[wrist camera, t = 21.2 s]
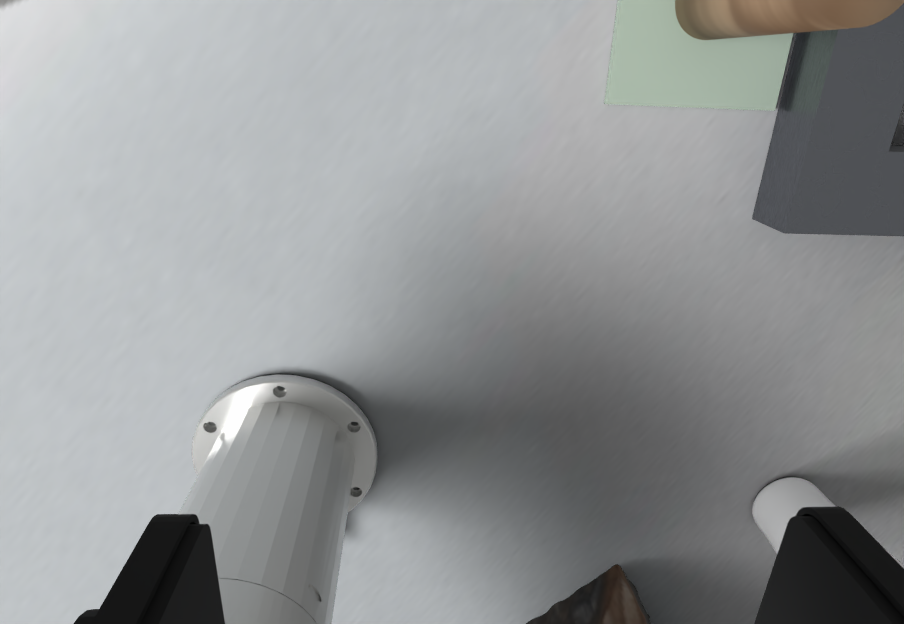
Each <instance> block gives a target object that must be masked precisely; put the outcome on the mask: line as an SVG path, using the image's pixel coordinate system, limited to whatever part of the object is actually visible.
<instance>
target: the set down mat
mask: <svg viewBox="0 0 904 624" xmlns="http://www.w3.org/2000/svg"><path fill="white" fill-rule="evenodd" d="M792 37H793V33H788V34H776V35H764V36H752V37H739V38H727V39H715V40H699V39H696V38H693V37H691V36H690V35H688V34H687V33H686V32H685V31H684V30H683V29H682V28H681V26H680V24H679V22H678V20H677V16H676V11H675V0H618V3H617V11H616V18H615V26H614V34H613V41H612V49H611V56H610V64H609V72H608V79H607V87H606V94H605V102H604V104H614V105H640V106H665V107H691V108H716V109H742V110H767V111H775V108H776V104H777V100H778V96H779V92H780V87H781V83H782V79H783V75H784V71H785V67H786V62H787V58H788V54H789V50H790V46H791V41H792Z"/></svg>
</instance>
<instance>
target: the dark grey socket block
mask: <svg viewBox="0 0 904 624" xmlns="http://www.w3.org/2000/svg"><path fill="white" fill-rule="evenodd" d="M903 105H904V3H903V4H902V5H901V6H900V7H899V8H898V9H897V10H896V11H895V12H894V13H892V14H891V15H890V16H888V17H887V18H885V19H883V20H882V21H880V22H877V23H875V24H873V25H869V26H866V27H860V28H848V29H836V30H824V31H812V32H800V33H797V35H796V39H795V43H794V47H793V51H792V55H791V60H790V64H789V68H788V72H787V76H786V80H785V84H784V89H783V93H782V97H781V101H780V105H779V109H778V114H777V118H776V122H775V126H774V130H773V134H772V139H771V143H770V147H769V151H768V155H767V159H766V163H765V168H764V172H763V176H762V180H761V184H760V188H759V193H758V197H757V201H756V205H755V209H754V213H753V218H752V219H754V220H756V221H758V222H761V223H763V224H765V225H767V226H769V227H772V228H774V229H776V230H778V231H780V232H783V233H793V234H836V235H878V236H904V146H894V145H891V143H892V139H893V136H894V133H895V130H896V127H897V124H898V121H899V117H900V114H901V111H902V108H903Z"/></svg>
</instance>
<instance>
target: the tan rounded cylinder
mask: <svg viewBox="0 0 904 624" xmlns="http://www.w3.org/2000/svg"><path fill="white" fill-rule="evenodd" d="M903 3H904V0H675V11H676V16H677V20H678V22H679V24H680V26H681V28H682V29H683V30H684V31H685V32H686V33H687V34H688V35H690V36H691V37H693V38H696V39H699V40H715V39H727V38H739V37H752V36H764V35H776V34H788V33H800V32H812V31H824V30H836V29H848V28H860V27H866V26H869V25H873V24H875V23H877V22H880V21H882V20H883V19H885V18H887V17H888V16H890V15H891V14H892V13H894V12H895V11H896V10H897V9H898V8H899V7H900V6H901V5H902V4H903Z"/></svg>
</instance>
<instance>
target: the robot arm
mask: <svg viewBox="0 0 904 624" xmlns="http://www.w3.org/2000/svg"><path fill="white" fill-rule="evenodd" d="M280 386H282V387H284V388H282V387H280ZM192 459H193V465H194V469H195V472H196V474H197V478H196V480H195V482H194V484H193V486H192V488H191V490H190V492H189V494H188V496H187V497H186V499H185V501H184V503H183V505H182V507H181V509H180V511H179V513H178V514H157V515H156V516H154V517H153V518H152V519H151V521H150V522H149V524H148V526H147V527H146V529H145V531H144V533H143V534H142V536H141V538H140V539H139V541H138V543H137V545H136V546H135V548H134V550H133V552H132V553H131V555H130V557H129V559H128V560H127V562H126V564H125V566H124V567H123V569H122V571H121V572H120V574H119V576H118V578H117V579H116V581H115V583H114V585H113V586H112V588H111V590H110V592H109V593H108V595H107V597H106V599H105V600H104V602H103V604H102V605H101V607H100V609H93V610H87V611H85V612H84V613H83V614H82V615H80V616H79V617H78V618H77V620H76V621H75V623H74V624H331V623H332V616H333V609H334V602H335V596H336V589H337V582H338V575H339V568H340V561H341V554H342V548H343V541H344V534H345V527H346V520H347V513H349V512H350V511H351V510H353V509H354V508H355V507H356V506H357V505H358V504H359V503H360V502H361V501H362V500H363V499H364V497H365V495H366V494H367V492H368V491H369V489H370V487H371V485H372V482H373V480H374V477H375V474H376V467H377V442H376V438H375V434H374V431H373V429H372V427H371V425H370V423H369V421H368V419H367V417H366V416H365V415H364V413H363V412H362V411H361V409H360V408H359V407H358V406H357V405H356V404H355V403H354V402H353V401H352V400H351V399H349V398H348V397H347V396H346V395H345V394H343V393H341V392H340V391H338V390H336V389H335V388H333V387H331V386H330V385H327V384H325V383H322V382H319V381H317V380H314V379H310V378H306V377H301V376H296V375H278V374H277V375H268V376H260V377H256V378H253V379H249V380H246V381H243V382H241V383H239V384H237V385H235V386H233V387H231V388H229V389H227V390H226V391H225V392H223V393H222V394H221V395H220V396H218V397H217V398H216V399H215V400H214V401H213V402H212V404H211V405H210V406H209V407H208V409H207V410H206V411H205V412H204V414H203V416H202V418H201V419H200V421H199V423H198V425H197V428H196V431H195V434H194V437H193V442H192ZM754 624H904V568H903V567H902V566H901V565H900V564H899V563H898V562H897V561H896V560H895V559H894V558H893V557H892V556H891V555H890V554H889V553H888V552H887V551H886V550H885V549H884V548H883V547H882V546H881V545H880V544H879V543H878V542H877V541H876V540H875V539H874V538H873V537H872V536H871V535H870V534H869V533H868V532H867V531H866V529H865V528H864V527H863V526H862V525H861V524H860V523H859V522H858V521H857V520H856V519H855V518H854V517H853V516H852V515H851V514H850V513H849V512H847V511H846V510H845V509H843V508H841V507H803V508H801V509H800V510H798V512H797V514H796V516H794V517H792V518H790V520H789V522H788V524H787V527H786V530H785V533H784V536H783V539H782V542H781V545H780V548H779V551H778V554H777V557H776V560H775V563H774V566H773V569H772V572H771V575H770V578H769V581H768V584H767V587H766V590H765V593H764V596H763V599H762V602H761V605H760V608H759V611H758V614H757V617H756V620H755V623H754Z"/></svg>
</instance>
